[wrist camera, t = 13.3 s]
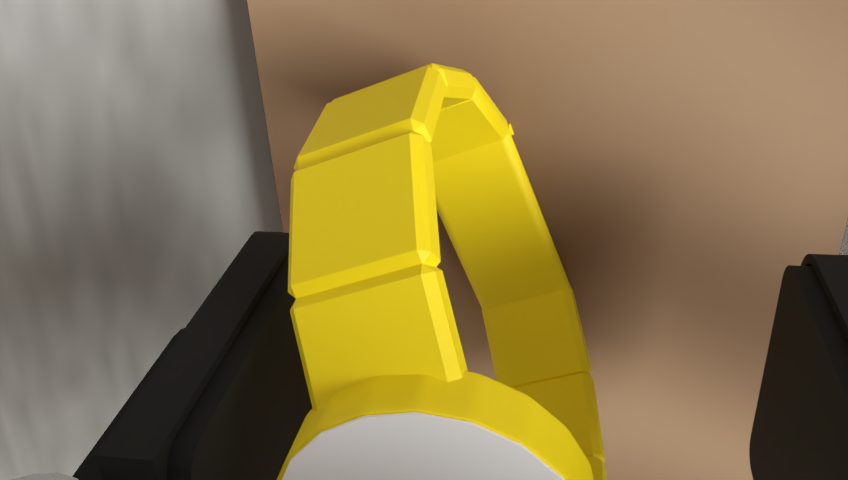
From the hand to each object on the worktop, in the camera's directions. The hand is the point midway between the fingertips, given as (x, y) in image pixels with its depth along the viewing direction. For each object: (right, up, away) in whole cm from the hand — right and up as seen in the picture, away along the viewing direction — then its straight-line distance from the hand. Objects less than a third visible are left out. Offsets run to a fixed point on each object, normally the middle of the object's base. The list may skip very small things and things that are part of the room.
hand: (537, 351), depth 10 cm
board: (0, +1, +2) cm, 3 cm away
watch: (0, +2, +2) cm, 3 cm away
